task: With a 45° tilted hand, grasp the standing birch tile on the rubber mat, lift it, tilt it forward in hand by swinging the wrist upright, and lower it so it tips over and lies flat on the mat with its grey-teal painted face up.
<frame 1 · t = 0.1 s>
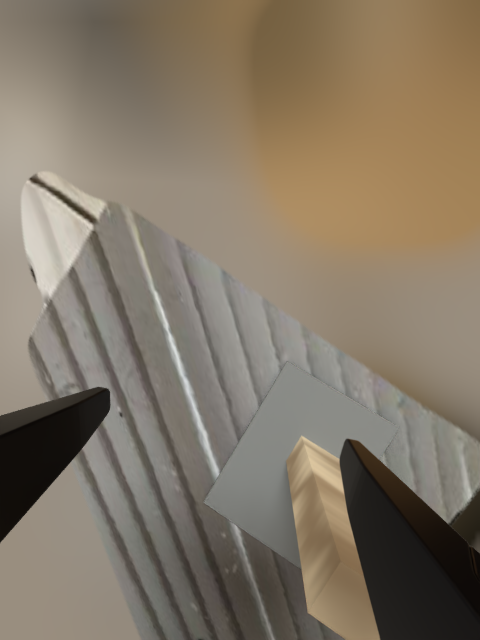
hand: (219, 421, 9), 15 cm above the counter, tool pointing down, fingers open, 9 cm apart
tile: (323, 466, 23), resting on mat
mat: (296, 464, 23), on the counter
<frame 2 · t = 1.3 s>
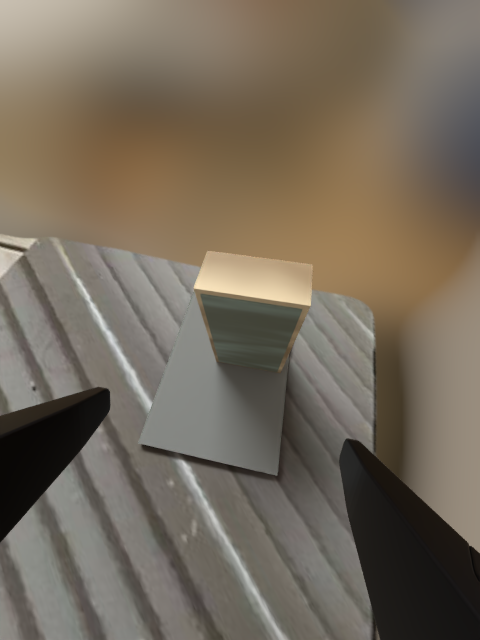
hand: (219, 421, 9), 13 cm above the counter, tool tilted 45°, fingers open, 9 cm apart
tile: (250, 353, 24), resting on mat
mat: (228, 363, 24), on the counter
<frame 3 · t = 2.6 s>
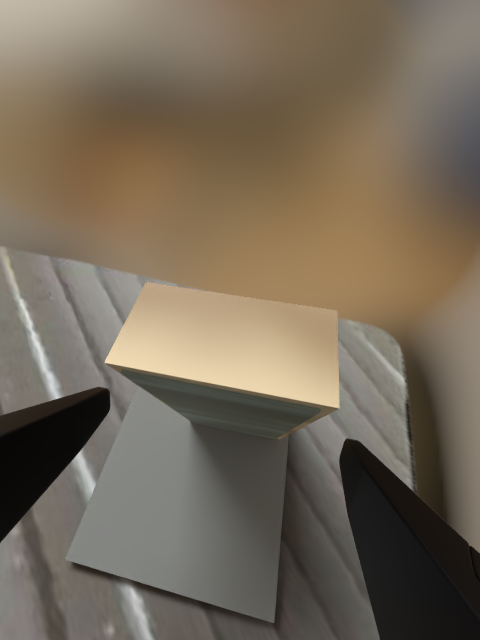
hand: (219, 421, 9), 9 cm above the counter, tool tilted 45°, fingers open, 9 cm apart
tile: (237, 408, 17), resting on mat
mat: (206, 423, 17), on the counter
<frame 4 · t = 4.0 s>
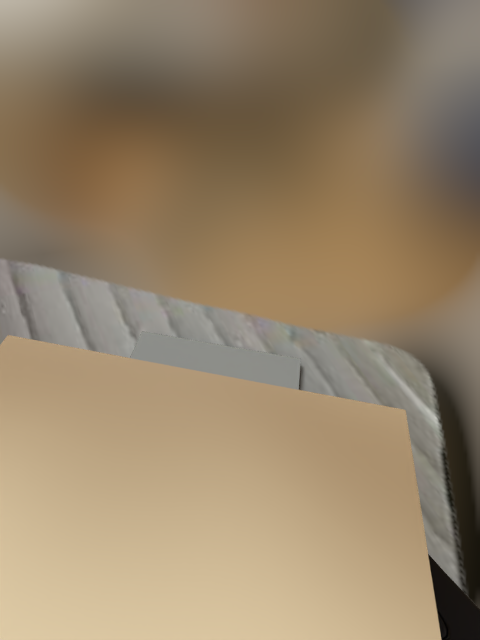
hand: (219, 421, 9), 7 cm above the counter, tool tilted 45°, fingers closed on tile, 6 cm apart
tile: (223, 461, 13), resting on mat, touching gripper
mat: (183, 481, 13), on the counter
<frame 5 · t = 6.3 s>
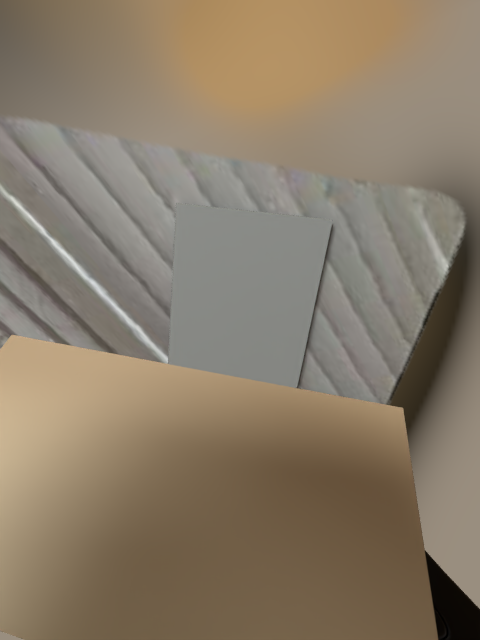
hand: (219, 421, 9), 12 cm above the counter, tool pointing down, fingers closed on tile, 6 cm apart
tile: (224, 461, 13), point 9 cm above the counter, tilted 45°, touching gripper
mat: (238, 317, 20), on the counter
when the fingers open (6 cm above the counter, at t = 8.5 s): tile moves 2 cm and tips over, resting on mat.
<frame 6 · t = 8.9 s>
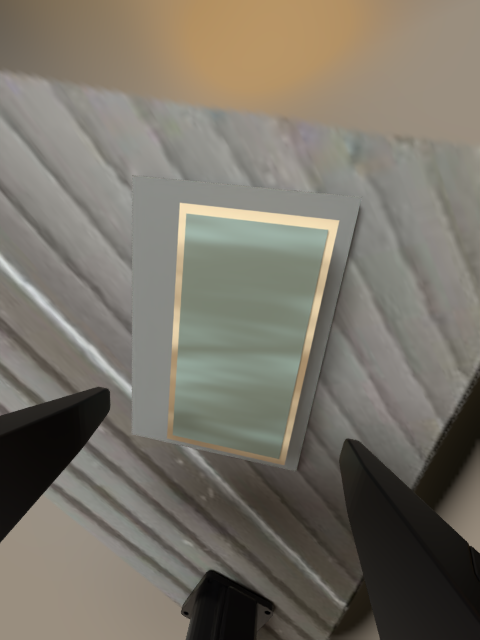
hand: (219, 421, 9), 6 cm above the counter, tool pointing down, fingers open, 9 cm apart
tile: (229, 431, 14), point 2 cm above the counter, tilted 90°, touching mat
mat: (224, 337, 15), on the counter
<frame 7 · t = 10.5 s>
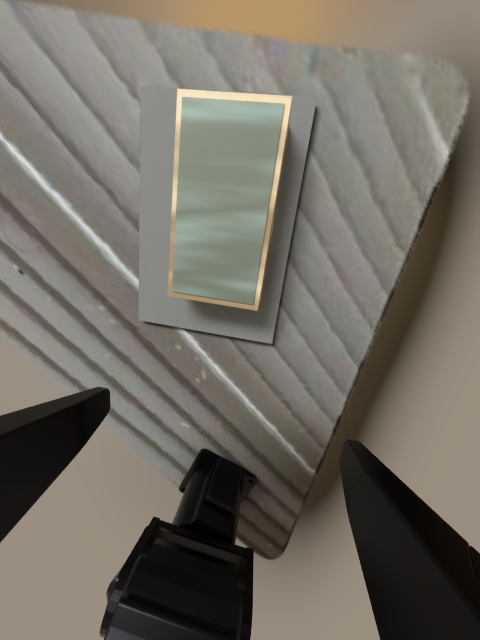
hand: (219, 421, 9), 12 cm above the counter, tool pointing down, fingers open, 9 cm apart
tile: (216, 299, 18), point 2 cm above the counter, tilted 90°, touching mat
mat: (214, 228, 18), on the counter
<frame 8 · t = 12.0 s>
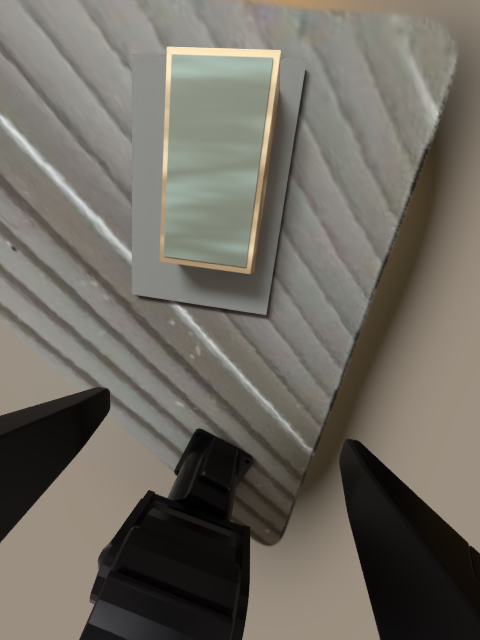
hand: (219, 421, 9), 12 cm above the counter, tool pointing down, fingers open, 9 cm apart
tile: (209, 267, 17), point 2 cm above the counter, tilted 90°, touching mat
mat: (206, 197, 18), on the counter
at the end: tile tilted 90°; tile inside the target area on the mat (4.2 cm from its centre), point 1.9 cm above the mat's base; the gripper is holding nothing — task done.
